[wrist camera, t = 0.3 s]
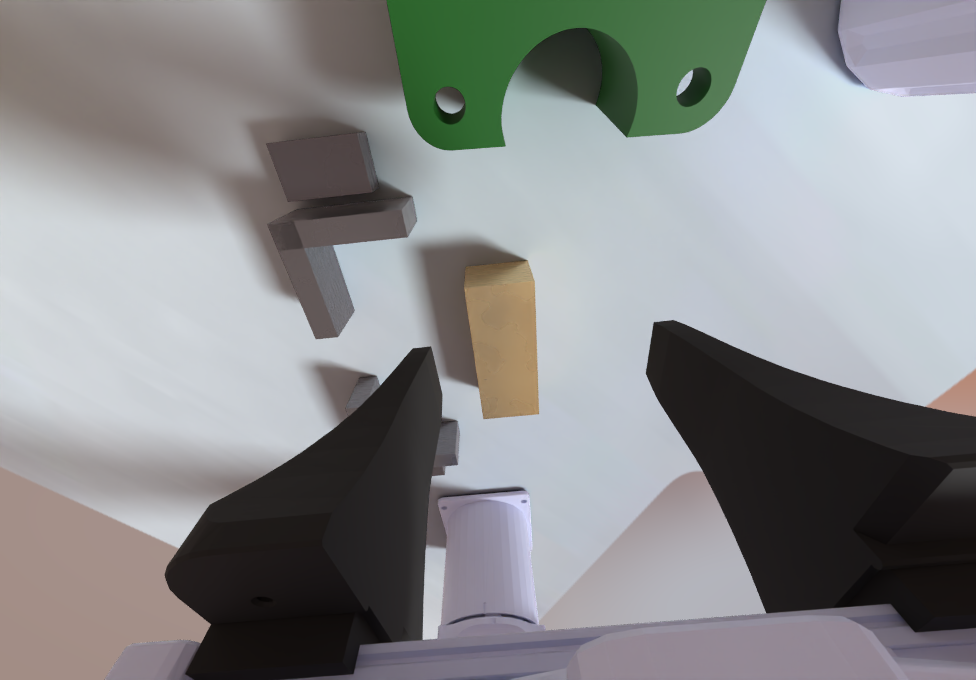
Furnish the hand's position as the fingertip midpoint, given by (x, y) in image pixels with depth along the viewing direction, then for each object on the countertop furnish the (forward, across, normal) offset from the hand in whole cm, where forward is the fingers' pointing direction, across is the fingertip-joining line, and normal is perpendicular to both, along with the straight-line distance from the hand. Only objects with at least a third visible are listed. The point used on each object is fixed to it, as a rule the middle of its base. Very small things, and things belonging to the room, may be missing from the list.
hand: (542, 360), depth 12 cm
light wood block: (+10, +1, +5) cm, 11 cm away
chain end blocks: (+10, +8, +4) cm, 13 cm away
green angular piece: (+10, -2, -9) cm, 14 cm away
